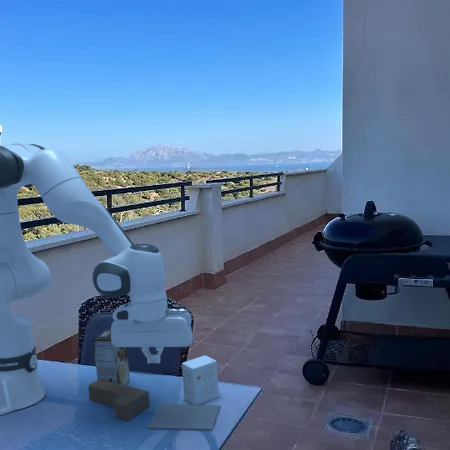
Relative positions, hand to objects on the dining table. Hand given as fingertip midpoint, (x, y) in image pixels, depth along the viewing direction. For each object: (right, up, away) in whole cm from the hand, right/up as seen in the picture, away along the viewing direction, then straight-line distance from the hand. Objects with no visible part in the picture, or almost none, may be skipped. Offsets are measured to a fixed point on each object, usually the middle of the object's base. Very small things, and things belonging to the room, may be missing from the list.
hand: (154, 362), depth 135 cm
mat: (+8, -14, +1) cm, 16 cm away
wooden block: (-4, -12, +4) cm, 13 cm away
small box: (+11, -13, +11) cm, 20 cm away
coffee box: (-14, -13, +22) cm, 29 cm away
